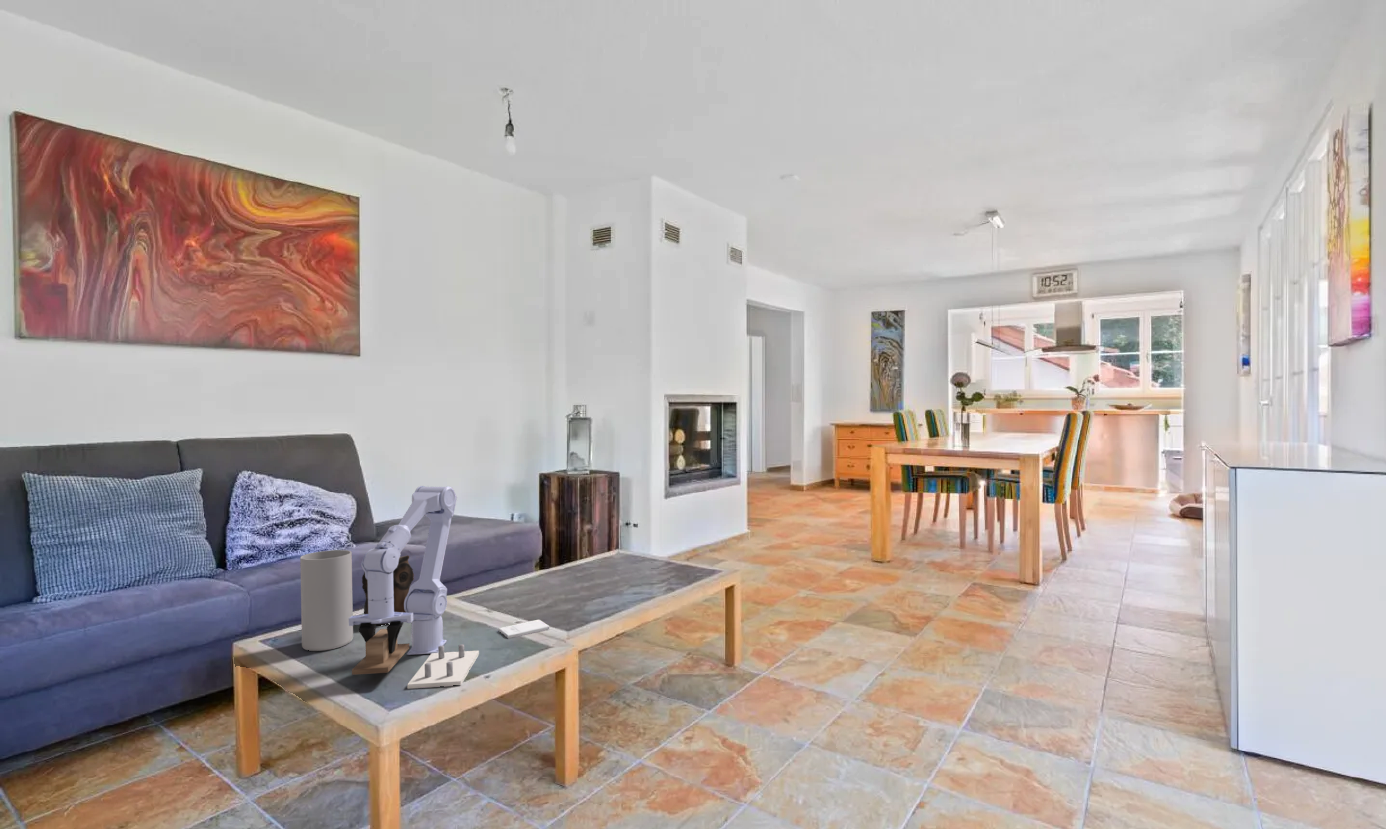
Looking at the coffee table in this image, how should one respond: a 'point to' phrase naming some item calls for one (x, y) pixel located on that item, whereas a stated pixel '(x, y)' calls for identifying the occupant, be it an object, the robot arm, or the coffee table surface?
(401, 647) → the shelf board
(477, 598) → the coffee table surface
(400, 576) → the owl
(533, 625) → the external hard drive
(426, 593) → the robot arm
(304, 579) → the cylinder vase
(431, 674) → the peg base
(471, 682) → the coffee table surface
